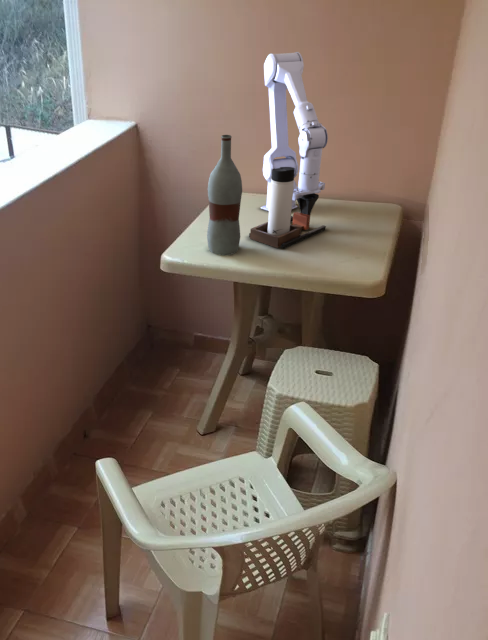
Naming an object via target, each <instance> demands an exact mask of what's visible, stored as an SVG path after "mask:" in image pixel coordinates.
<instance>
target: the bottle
mask: <svg viewBox="0 0 488 640" xmlns="http://www.w3.org/2000/svg"><path fill="white" fill-rule="evenodd" d="M220 138H221V140H220V141H221V142H220V158H219V160H218V161H217V163H216V165H215V166H214V168H213V169H212V171H211V172H210V174H209V177H208V183H207V199H208V214H209V215H208V216H209V217H208V218H209V219H208V225H207V231H206V239H207V247H208V251H209V252H210V253H211V254H214V255H216V256H217V255H218V256H229V255H233V254H235V253H237V252H238V250H239V247H240V241H241V226H240V210H241V204H242V195H243V181H242V180H243V179H242V177H241V176H242V175H241V173H240V171H239V170H238V168H237V166H236V163H234V161H233V159H232V135H231V134H223V135H221V136H220Z"/></svg>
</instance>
